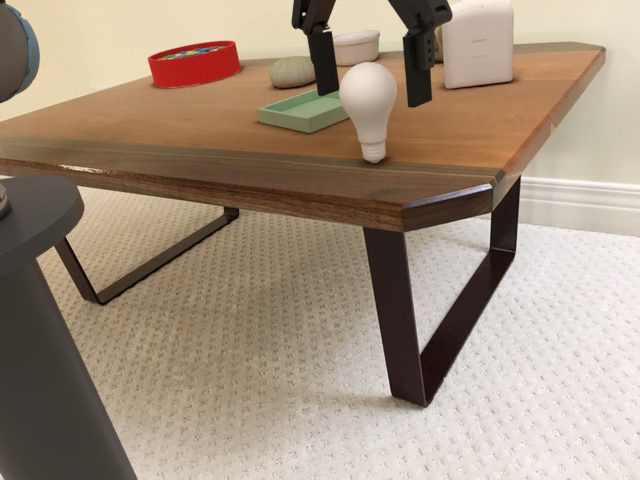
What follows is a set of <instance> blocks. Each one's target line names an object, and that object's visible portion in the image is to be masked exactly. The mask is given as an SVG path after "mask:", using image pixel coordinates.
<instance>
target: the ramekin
mask: <svg viewBox="0 0 640 480" xmlns="http://www.w3.org/2000/svg"><path fill="white" fill-rule="evenodd" d="M332 36H333V43H334V50H335V58H336V65H337V66H340V67H341V66H343V67H347V66H348V67H349V66H355V65H357V64H360V63H364V62H373V61H375V60H376V59H377V58H378V56H379V51H380V50H379V49H380V37H381V32H380V31H379V30H378V29H363V30H356V31H355V30H354V31H349V32H344V33H340V34H336V35H332Z"/></svg>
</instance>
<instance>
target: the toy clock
mask: <svg viewBox="0 0 640 480" xmlns="http://www.w3.org/2000/svg"><path fill="white" fill-rule="evenodd" d="M147 63H148V65H149V69H150V73H151V76H152V79H153V83H154V87H156V88H161V89H178V88H187V87H192V86H198V85H203V84H207V83H212V82H215V81H220V80H222V79H226V78H229V77H231V76H234V75H236V74H237V73H239V72H241V70H242V67H241V62H240V58H239V52H238V49H237V44H236V41H234V40H214V41H206V42H199V43H193V44H187V45H184V46H178V47H173V48H170V49H165V50H163V51H160V52H156V53H153V54H151V55H150V56H148V57H147Z"/></svg>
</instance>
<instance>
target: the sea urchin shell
mask: <svg viewBox="0 0 640 480" xmlns="http://www.w3.org/2000/svg"><path fill="white" fill-rule="evenodd" d="M269 80H270V82H271V84H272V85H273V86H275V87H276V88H280V89H284V88H287V89H288V88H295V87H303V86H305V85H308V84H310V83H312V82H314V81H316V78H315V71H314V65H313V64H312V62H311V58H310V57H306V56H304V55H289V56H284V57H282V58H279V59H278V60H276V61H275V62H274V63H272V66H271V67H270V69H269Z"/></svg>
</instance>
